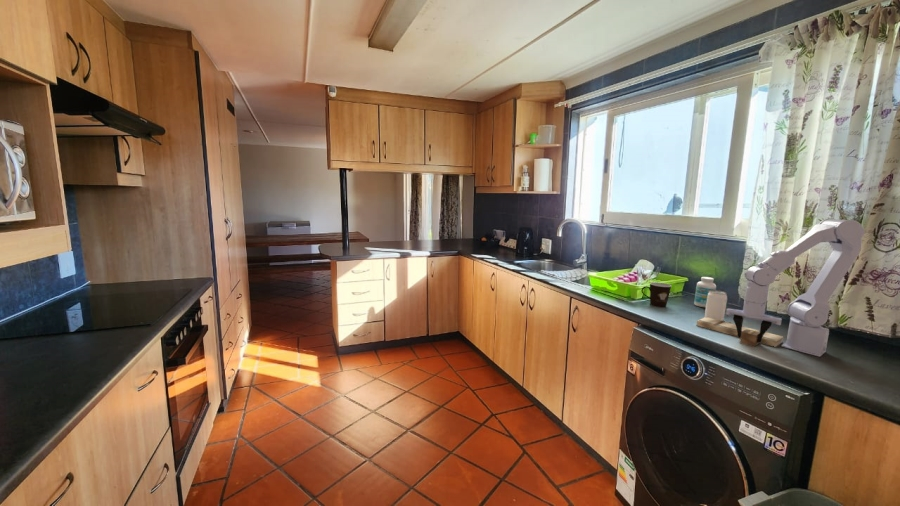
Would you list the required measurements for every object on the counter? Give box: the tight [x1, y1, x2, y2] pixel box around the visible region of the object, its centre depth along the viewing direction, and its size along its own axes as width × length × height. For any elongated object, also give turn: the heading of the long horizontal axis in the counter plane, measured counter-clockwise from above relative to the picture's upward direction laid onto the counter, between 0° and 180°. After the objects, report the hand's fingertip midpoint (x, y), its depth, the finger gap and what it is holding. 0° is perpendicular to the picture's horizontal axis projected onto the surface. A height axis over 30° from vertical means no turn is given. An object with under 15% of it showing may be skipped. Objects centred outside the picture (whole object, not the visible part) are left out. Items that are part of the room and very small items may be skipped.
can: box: [704, 289, 728, 321], centre depth 148 cm, size 6×6×12 cm
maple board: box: [696, 316, 784, 348], centre depth 134 cm, size 24×8×2 cm, turn 34°
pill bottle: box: [693, 276, 717, 309], centre depth 167 cm, size 8×7×14 cm
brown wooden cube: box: [739, 329, 760, 347], centre depth 125 cm, size 4×5×4 cm
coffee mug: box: [640, 281, 672, 309], centre depth 168 cm, size 12×9×10 cm
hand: (749, 339), depth 125 cm, fingers open, 5 cm apart
